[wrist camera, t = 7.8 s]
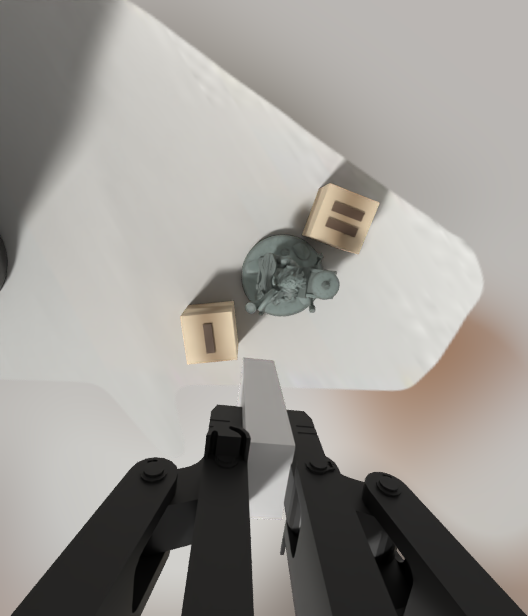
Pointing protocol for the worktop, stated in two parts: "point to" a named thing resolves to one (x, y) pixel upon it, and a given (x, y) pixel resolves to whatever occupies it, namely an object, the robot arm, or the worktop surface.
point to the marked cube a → (210, 332)
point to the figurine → (285, 277)
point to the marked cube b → (340, 218)
